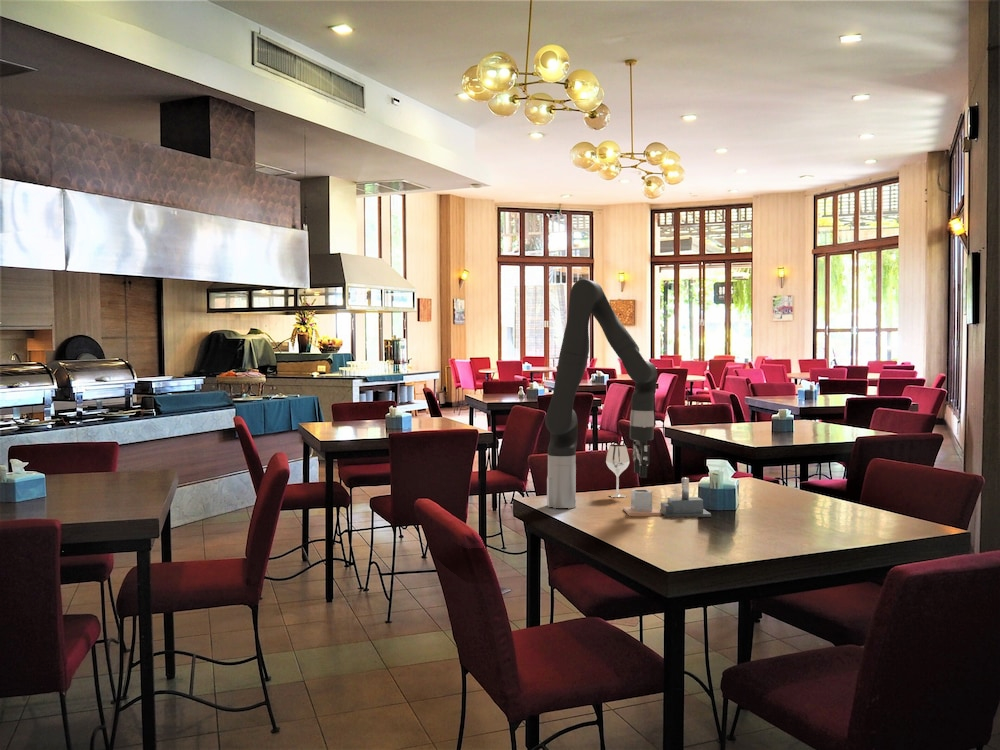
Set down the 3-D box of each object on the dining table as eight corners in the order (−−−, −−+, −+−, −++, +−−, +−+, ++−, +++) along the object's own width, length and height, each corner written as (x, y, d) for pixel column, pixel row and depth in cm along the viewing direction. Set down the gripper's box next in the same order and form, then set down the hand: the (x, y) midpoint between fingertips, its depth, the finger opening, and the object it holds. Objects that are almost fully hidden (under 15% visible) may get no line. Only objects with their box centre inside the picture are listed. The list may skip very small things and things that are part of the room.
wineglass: (630, 498, 296) (630, 446, 295) (607, 498, 296) (607, 446, 296) (627, 494, 304) (627, 444, 304) (604, 494, 304) (604, 444, 304)
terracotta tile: (628, 516, 265) (629, 512, 265) (622, 509, 275) (622, 506, 275) (660, 515, 266) (660, 512, 266) (653, 509, 276) (653, 506, 276)
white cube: (634, 511, 267) (634, 492, 267) (630, 508, 273) (631, 489, 273) (652, 511, 268) (652, 492, 268) (648, 507, 273) (648, 489, 273)
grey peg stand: (666, 517, 263) (666, 480, 262) (660, 512, 271) (660, 476, 270) (711, 516, 263) (711, 479, 263) (703, 511, 271) (703, 476, 271)
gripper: (625, 422, 276) (624, 471, 277) (634, 426, 262) (633, 478, 263) (648, 422, 277) (647, 472, 277) (658, 427, 262) (657, 479, 263)
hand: (640, 475), depth 270 cm, fingers open, 8 cm apart
